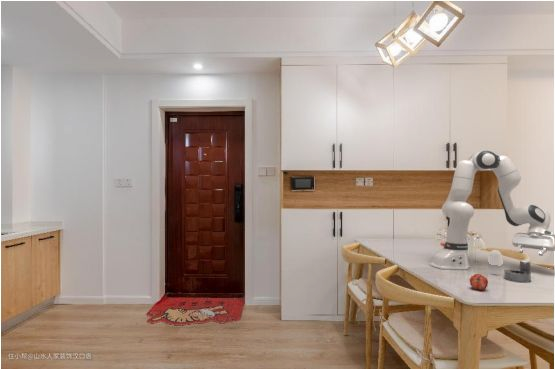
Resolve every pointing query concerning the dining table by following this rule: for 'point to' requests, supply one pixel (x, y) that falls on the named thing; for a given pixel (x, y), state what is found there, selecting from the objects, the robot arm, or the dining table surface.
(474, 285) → the pomegranate
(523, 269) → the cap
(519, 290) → the dining table surface
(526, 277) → the grey round ashtray
